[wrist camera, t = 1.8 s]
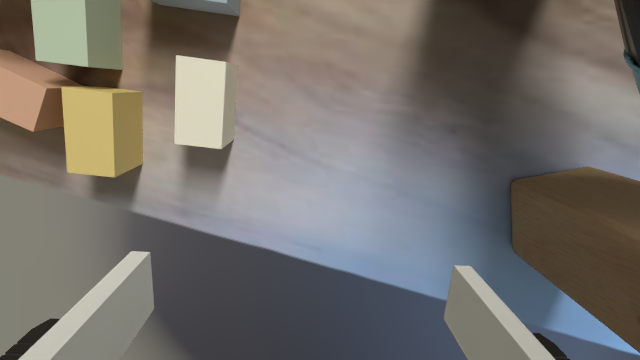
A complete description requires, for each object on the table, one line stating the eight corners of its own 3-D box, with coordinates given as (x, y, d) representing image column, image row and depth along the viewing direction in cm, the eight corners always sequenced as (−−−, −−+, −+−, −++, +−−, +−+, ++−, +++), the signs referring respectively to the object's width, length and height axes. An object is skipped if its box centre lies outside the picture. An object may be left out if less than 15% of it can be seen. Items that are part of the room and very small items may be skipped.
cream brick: (196, 59, 36) (176, 55, 30) (238, 65, 36) (226, 61, 31) (194, 134, 38) (174, 143, 32) (234, 139, 39) (221, 149, 33)
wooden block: (508, 252, 44) (668, 383, 24) (506, 178, 41) (684, 260, 22) (585, 238, 44) (807, 359, 24) (589, 163, 41) (840, 232, 22)
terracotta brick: (-1, 90, 36) (-59, 91, 30) (10, 50, 35) (-48, 44, 29) (75, 124, 37) (33, 131, 32) (87, 87, 36) (46, 88, 31)
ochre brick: (100, 86, 36) (61, 86, 31) (142, 91, 37) (112, 93, 31) (103, 159, 39) (67, 172, 33) (143, 163, 39) (114, 177, 33)
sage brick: (74, -21, 34) (27, -43, 28) (120, -14, 34) (83, -34, 28) (79, 64, 36) (35, 60, 30) (122, 69, 36) (88, 67, 30)
